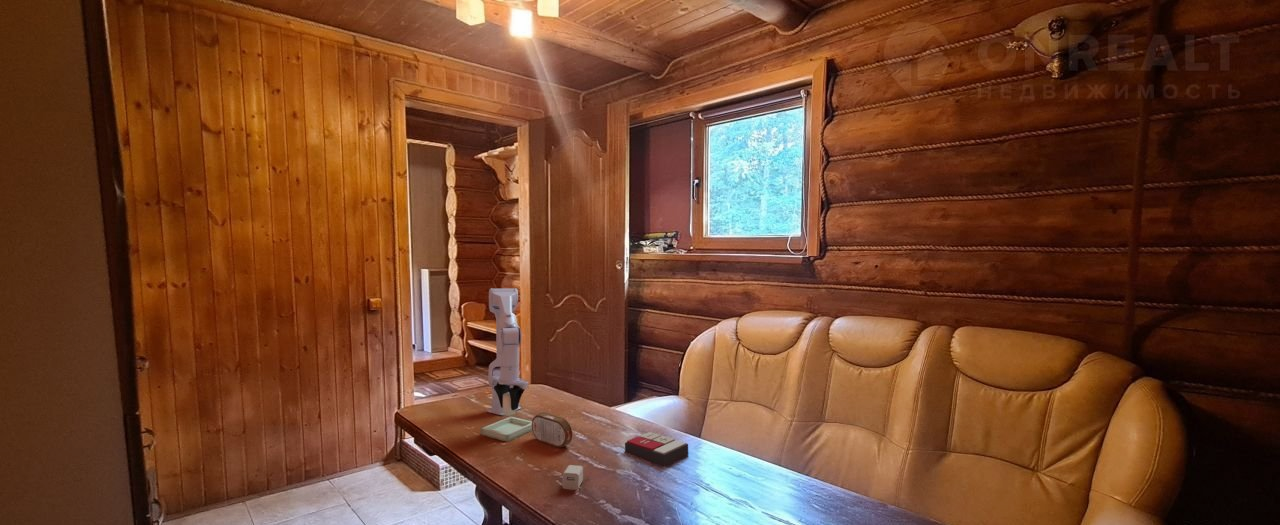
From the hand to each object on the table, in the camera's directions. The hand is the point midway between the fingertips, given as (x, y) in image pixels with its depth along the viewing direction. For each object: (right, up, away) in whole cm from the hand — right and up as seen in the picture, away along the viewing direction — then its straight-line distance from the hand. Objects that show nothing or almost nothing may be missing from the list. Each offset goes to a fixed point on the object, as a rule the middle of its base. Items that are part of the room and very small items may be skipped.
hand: (509, 408), depth 154 cm
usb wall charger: (+25, -9, -33) cm, 43 cm away
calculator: (+46, -9, -15) cm, 49 cm away
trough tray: (0, -8, 0) cm, 8 cm away
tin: (+15, -8, -9) cm, 19 cm away
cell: (0, -2, 0) cm, 2 cm away
